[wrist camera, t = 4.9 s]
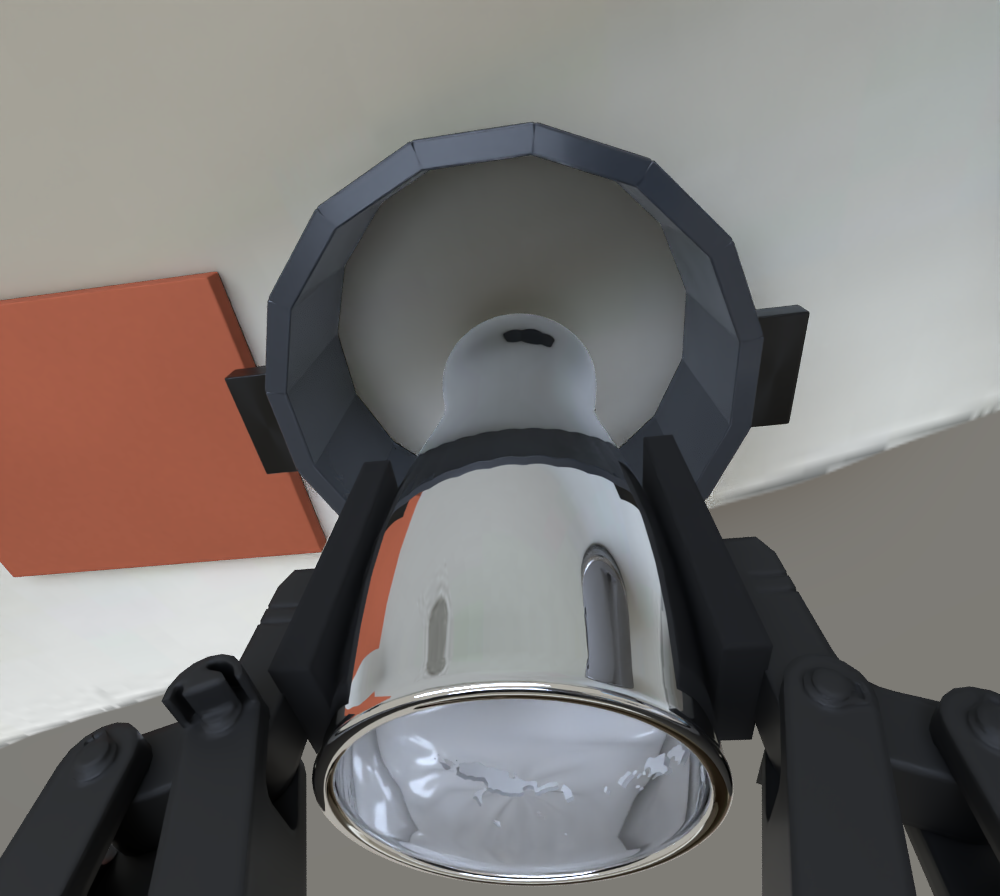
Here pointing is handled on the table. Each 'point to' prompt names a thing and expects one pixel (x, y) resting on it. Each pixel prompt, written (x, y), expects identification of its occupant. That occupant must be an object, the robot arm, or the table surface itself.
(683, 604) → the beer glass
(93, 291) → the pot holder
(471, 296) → the table surface
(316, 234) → the pot
